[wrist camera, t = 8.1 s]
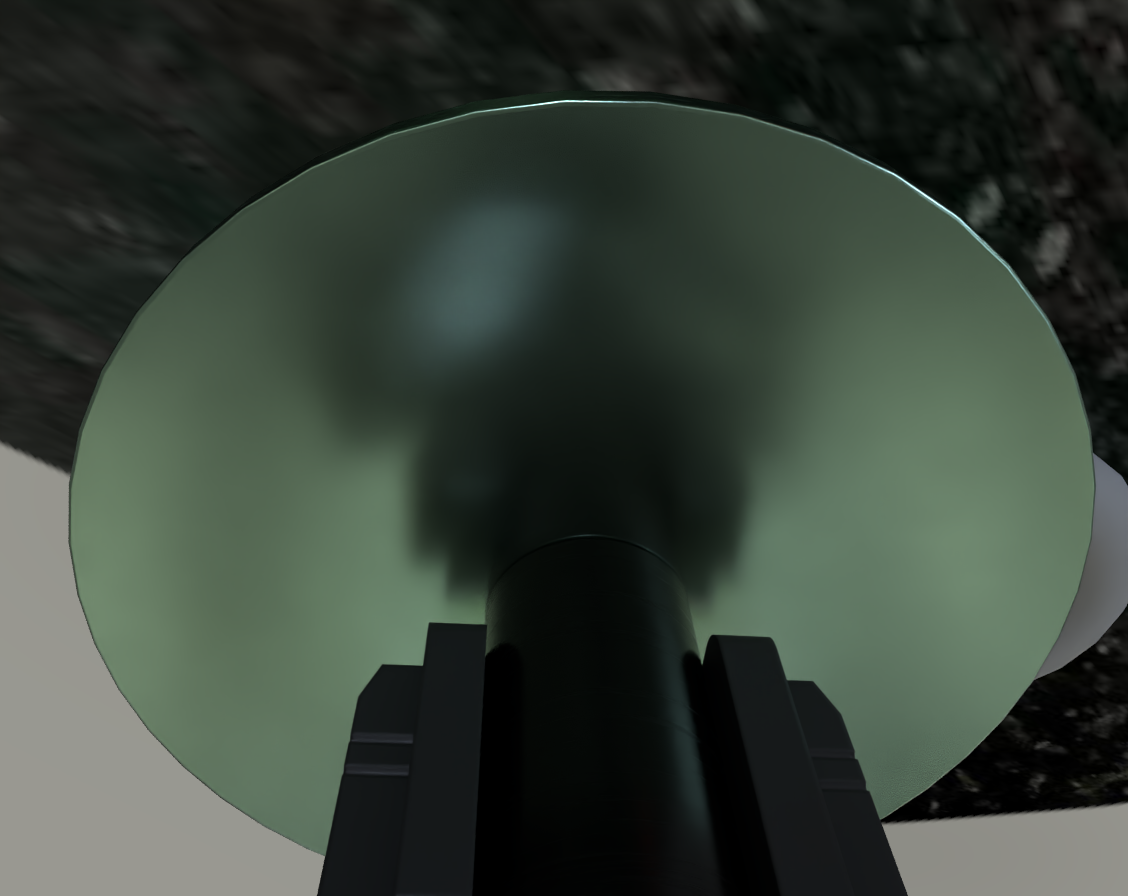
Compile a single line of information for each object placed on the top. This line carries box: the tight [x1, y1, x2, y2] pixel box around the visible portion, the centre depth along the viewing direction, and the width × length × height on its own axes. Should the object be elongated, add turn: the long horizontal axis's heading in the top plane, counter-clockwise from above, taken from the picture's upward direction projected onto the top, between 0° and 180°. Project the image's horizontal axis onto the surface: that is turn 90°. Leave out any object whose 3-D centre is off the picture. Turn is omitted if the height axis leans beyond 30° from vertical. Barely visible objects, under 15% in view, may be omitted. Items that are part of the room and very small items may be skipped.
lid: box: [69, 90, 1096, 896], centre depth 11 cm, size 14×14×7 cm
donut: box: [1034, 453, 1128, 680], centre depth 29 cm, size 10×3×10 cm
